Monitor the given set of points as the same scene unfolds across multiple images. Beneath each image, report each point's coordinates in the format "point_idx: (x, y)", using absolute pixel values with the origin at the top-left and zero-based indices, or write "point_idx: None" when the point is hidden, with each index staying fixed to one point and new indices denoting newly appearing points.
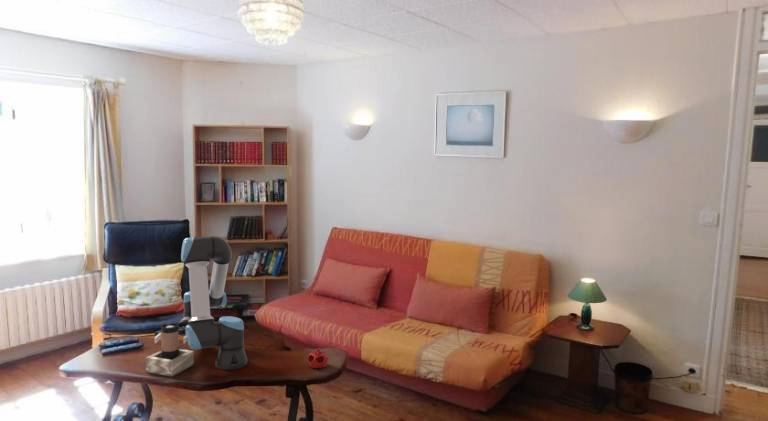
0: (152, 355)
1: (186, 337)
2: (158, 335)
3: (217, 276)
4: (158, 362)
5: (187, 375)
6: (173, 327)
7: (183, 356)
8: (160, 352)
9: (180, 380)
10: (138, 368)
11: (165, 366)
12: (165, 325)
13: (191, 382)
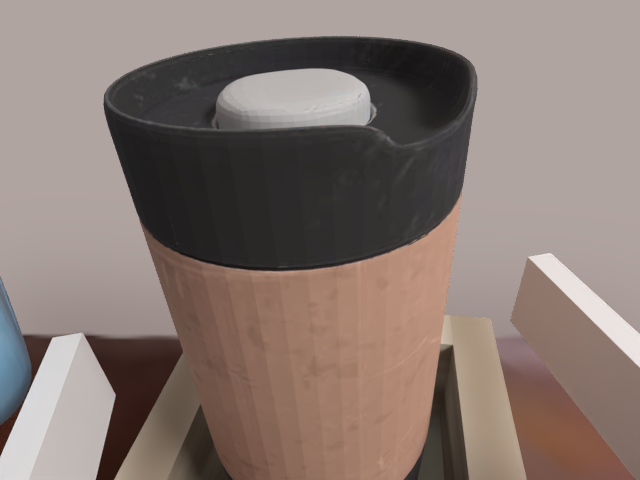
0: (478, 365)
1: (16, 332)
2: (604, 329)
3: None
4: None
5: (129, 415)
6: (216, 115)
7: (147, 423)
8: (474, 459)
9: (161, 344)
10: (595, 445)
11: None
12: (460, 108)
13: (87, 337)
